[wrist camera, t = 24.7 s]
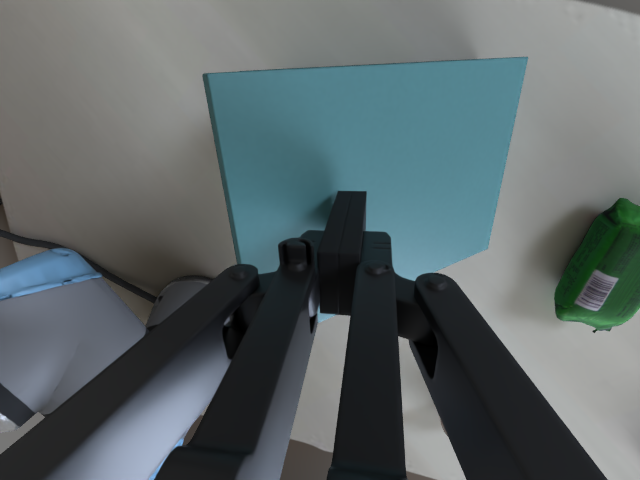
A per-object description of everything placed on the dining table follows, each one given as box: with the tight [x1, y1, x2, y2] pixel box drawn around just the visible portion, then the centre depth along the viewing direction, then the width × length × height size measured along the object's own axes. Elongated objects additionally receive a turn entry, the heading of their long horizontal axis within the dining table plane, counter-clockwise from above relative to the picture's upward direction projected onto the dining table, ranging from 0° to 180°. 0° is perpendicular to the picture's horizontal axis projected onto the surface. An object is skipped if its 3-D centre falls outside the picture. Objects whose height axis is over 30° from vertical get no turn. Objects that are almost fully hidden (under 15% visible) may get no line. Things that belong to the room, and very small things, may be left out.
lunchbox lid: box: [203, 57, 528, 323], centre depth 20 cm, size 20×14×1 cm
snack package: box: [554, 198, 640, 333], centre depth 36 cm, size 7×16×5 cm, turn 172°
